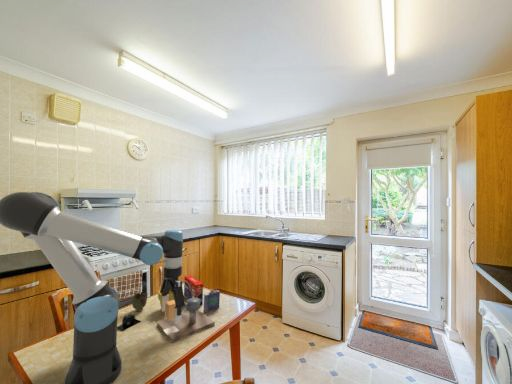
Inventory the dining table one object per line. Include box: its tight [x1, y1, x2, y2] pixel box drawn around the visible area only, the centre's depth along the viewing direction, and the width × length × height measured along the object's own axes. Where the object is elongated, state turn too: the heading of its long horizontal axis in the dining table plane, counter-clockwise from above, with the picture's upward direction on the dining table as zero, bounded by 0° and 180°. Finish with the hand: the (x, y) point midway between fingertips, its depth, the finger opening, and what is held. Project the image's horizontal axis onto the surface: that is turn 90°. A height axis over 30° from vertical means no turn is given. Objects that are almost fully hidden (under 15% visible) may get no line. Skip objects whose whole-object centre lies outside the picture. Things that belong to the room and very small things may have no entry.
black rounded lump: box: [117, 313, 142, 332], centre depth 106 cm, size 12×7×5 cm, turn 153°
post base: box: [156, 309, 216, 343], centre depth 106 cm, size 20×17×8 cm
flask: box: [203, 288, 221, 314], centre depth 122 cm, size 9×3×11 cm, turn 132°
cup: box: [131, 292, 149, 313], centre depth 119 cm, size 8×7×8 cm
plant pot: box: [157, 289, 174, 313], centre depth 121 cm, size 10×10×10 cm
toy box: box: [183, 274, 204, 306], centre depth 133 cm, size 18×4×12 cm, turn 37°
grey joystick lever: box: [164, 298, 201, 320], centre depth 103 cm, size 15×6×6 cm, turn 132°
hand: (171, 316), depth 99 cm, fingers open, 13 cm apart
